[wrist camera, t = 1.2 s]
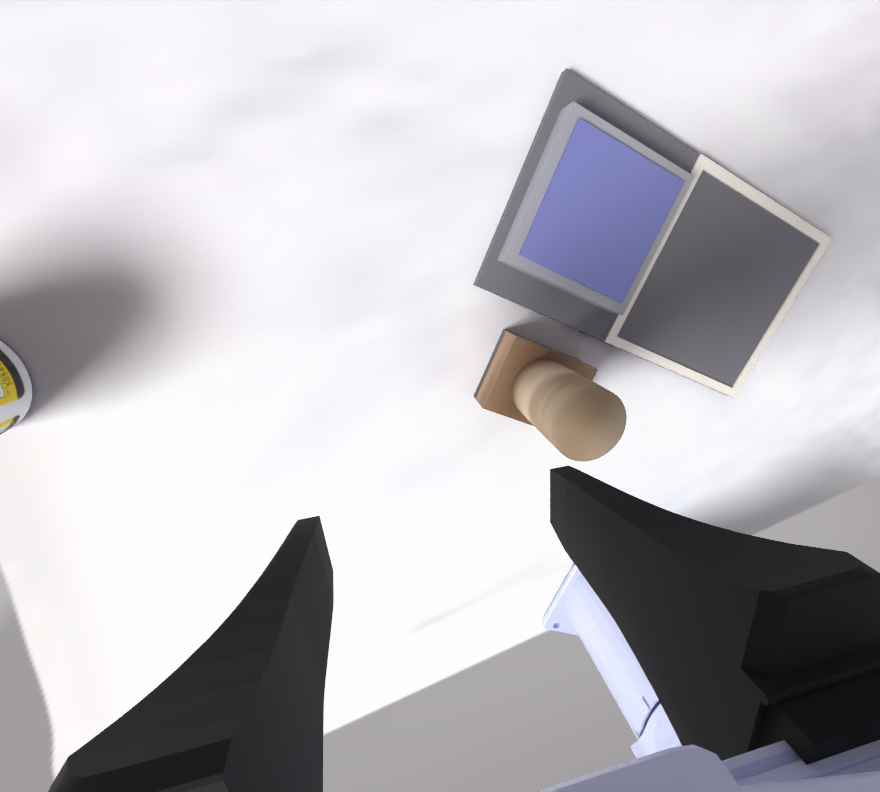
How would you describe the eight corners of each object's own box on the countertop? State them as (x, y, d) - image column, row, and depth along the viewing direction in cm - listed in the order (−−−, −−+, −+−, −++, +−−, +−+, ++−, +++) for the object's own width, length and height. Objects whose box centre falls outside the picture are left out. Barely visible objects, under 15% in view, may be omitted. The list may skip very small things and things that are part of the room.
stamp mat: (821, 238, 24) (858, 237, 22) (726, 395, 26) (752, 405, 24) (561, 72, 19) (582, 54, 17) (473, 284, 21) (483, 287, 19)
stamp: (579, 360, 24) (661, 401, 17) (548, 422, 25) (615, 482, 18) (503, 329, 22) (561, 360, 16) (473, 396, 23) (516, 451, 17)
